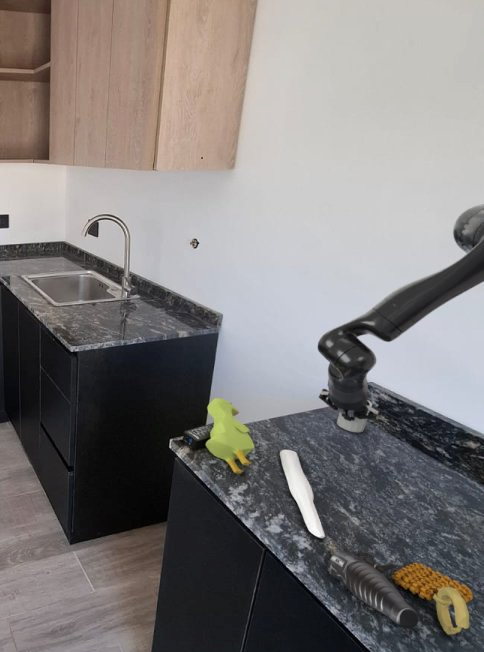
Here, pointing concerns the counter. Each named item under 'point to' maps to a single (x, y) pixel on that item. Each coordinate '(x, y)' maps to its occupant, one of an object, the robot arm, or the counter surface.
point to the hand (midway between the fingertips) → (349, 417)
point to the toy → (228, 434)
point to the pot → (352, 423)
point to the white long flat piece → (301, 491)
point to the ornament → (437, 593)
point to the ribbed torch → (372, 585)
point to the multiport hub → (198, 436)
